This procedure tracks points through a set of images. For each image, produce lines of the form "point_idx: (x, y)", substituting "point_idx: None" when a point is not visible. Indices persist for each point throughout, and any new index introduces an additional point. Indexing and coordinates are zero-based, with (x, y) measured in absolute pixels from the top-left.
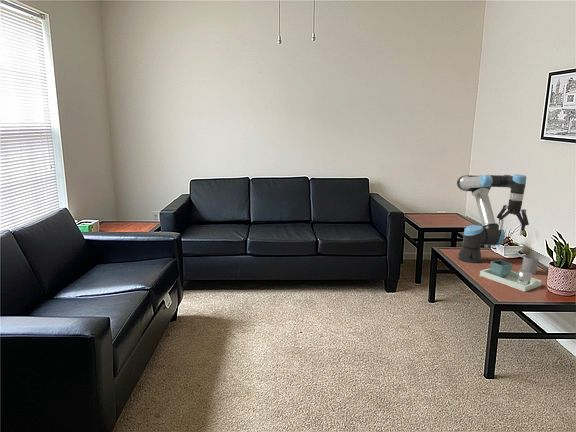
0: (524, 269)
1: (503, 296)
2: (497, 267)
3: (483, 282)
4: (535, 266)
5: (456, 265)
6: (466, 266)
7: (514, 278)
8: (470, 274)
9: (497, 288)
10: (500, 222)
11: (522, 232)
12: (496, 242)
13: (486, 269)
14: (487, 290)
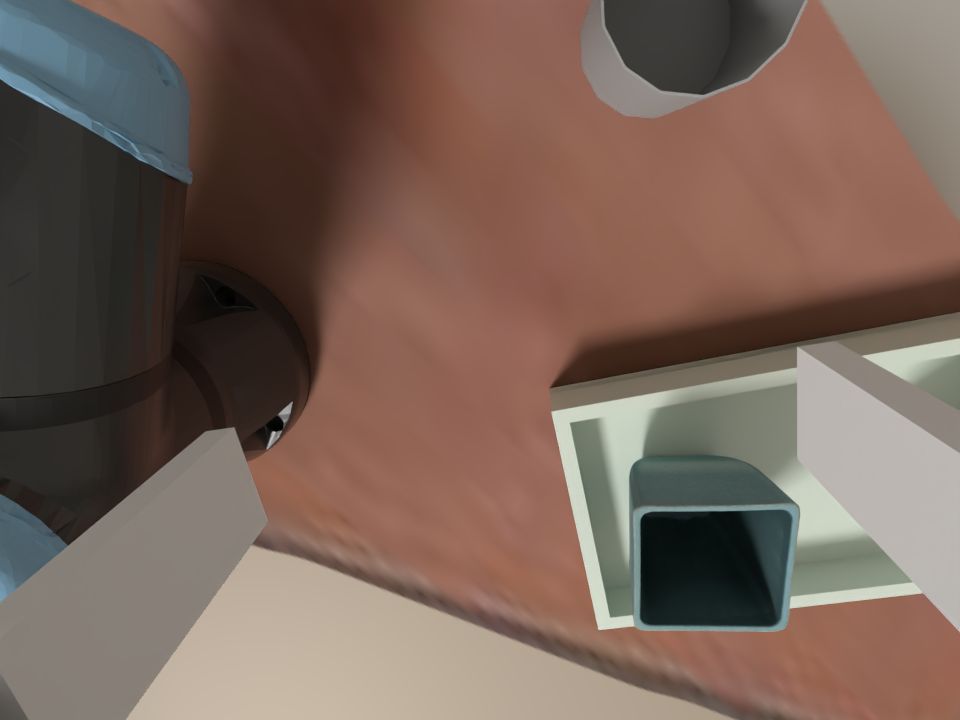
0: (656, 114)
1: (927, 701)
2: (715, 603)
3: (687, 639)
4: (763, 13)
5: (338, 567)
6: (372, 515)
7: (759, 397)
8: (529, 608)
9: (812, 637)
10: (127, 698)
11: (887, 383)
12: (185, 199)
13: (591, 565)
14: (804, 712)
